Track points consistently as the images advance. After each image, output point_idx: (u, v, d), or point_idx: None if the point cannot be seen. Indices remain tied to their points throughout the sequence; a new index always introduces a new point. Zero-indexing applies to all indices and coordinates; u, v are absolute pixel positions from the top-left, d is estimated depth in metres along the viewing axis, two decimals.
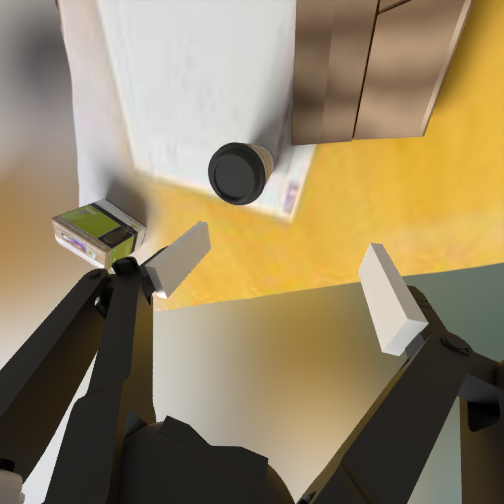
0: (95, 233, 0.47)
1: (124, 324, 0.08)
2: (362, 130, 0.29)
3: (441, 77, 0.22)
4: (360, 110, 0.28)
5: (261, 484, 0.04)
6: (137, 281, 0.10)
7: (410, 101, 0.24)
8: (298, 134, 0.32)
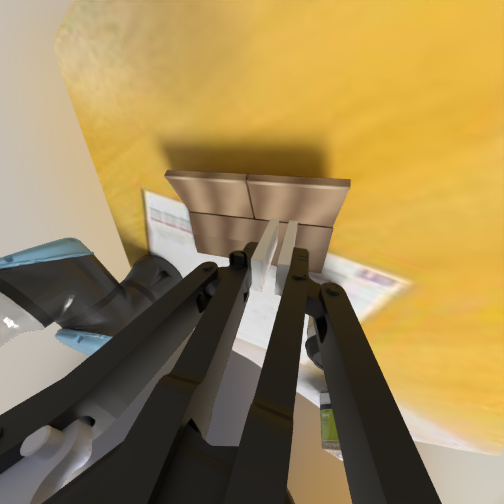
0: None
1: (218, 319, 0.08)
2: (326, 222, 0.30)
3: (300, 185, 0.24)
4: (308, 223, 0.31)
5: None
6: (242, 278, 0.10)
7: (313, 198, 0.26)
8: (313, 267, 0.36)
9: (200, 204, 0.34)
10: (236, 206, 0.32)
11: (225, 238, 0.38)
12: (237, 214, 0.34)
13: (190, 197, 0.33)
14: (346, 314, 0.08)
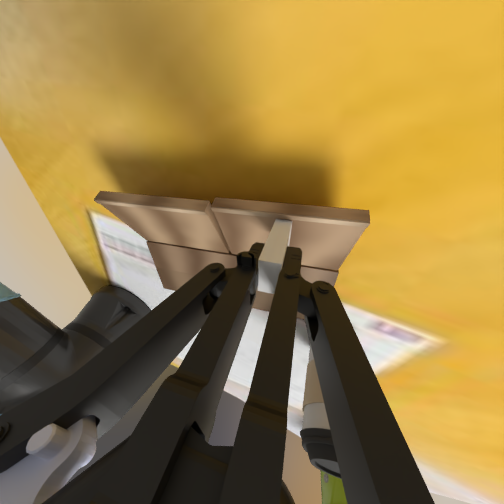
0: None
1: (224, 320, 0.08)
2: (328, 264, 0.21)
3: (291, 216, 0.16)
4: (304, 264, 0.22)
5: None
6: (249, 279, 0.10)
7: (310, 235, 0.17)
8: None
9: (157, 234, 0.25)
10: (203, 239, 0.23)
11: None
12: (207, 248, 0.25)
13: (141, 226, 0.24)
14: (336, 311, 0.08)
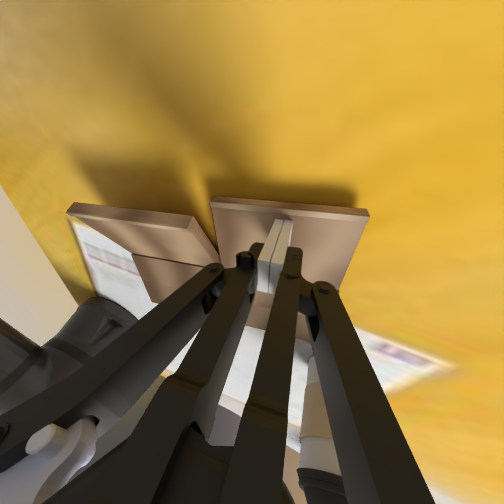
0: None
1: (224, 320, 0.08)
2: (328, 281, 0.19)
3: (290, 211, 0.15)
4: None
5: None
6: (249, 279, 0.10)
7: (309, 236, 0.17)
8: (309, 336, 0.25)
9: (140, 248, 0.23)
10: (190, 255, 0.21)
11: None
12: (196, 263, 0.23)
13: (122, 239, 0.22)
14: (337, 312, 0.08)
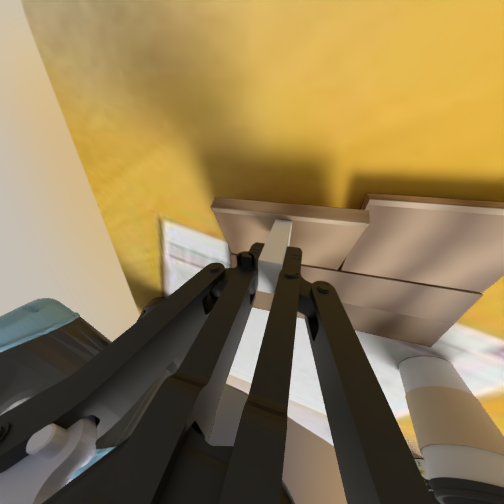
0: None
1: (224, 320, 0.08)
2: (475, 283, 0.18)
3: (474, 208, 0.14)
4: (438, 284, 0.19)
5: None
6: (249, 279, 0.10)
7: (480, 236, 0.16)
8: (420, 339, 0.24)
9: None
10: (318, 254, 0.20)
11: None
12: (312, 263, 0.22)
13: (243, 238, 0.21)
14: (336, 311, 0.08)
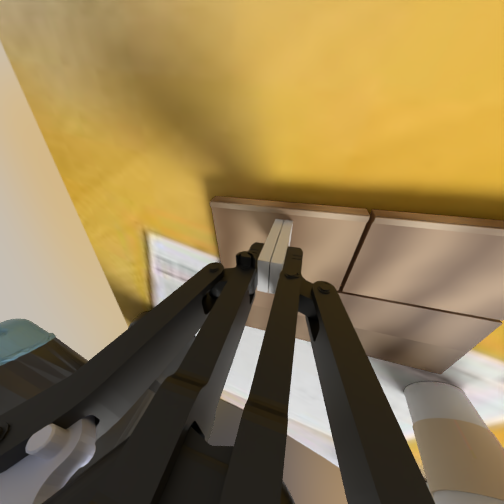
0: None
1: (224, 320, 0.08)
2: (495, 310, 0.16)
3: (499, 231, 0.12)
4: (452, 310, 0.17)
5: None
6: (249, 279, 0.10)
7: None
8: (429, 365, 0.22)
9: None
10: (317, 266, 0.18)
11: None
12: (310, 281, 0.20)
13: (237, 245, 0.20)
14: (337, 312, 0.08)
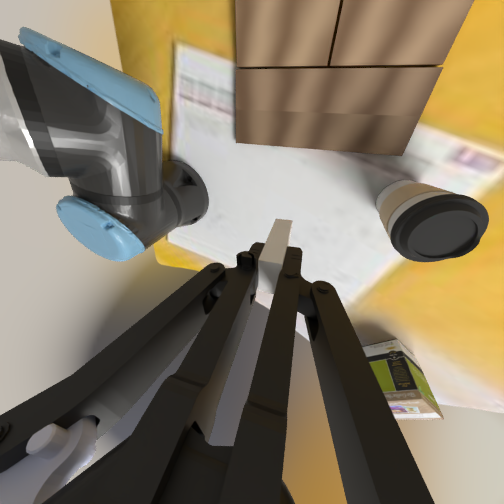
0: (389, 386, 0.45)
1: (224, 320, 0.08)
2: (437, 51, 0.22)
3: None
4: (408, 62, 0.23)
5: None
6: (249, 279, 0.10)
7: None
8: (394, 146, 0.28)
9: (260, 41, 0.26)
10: (312, 34, 0.24)
11: (279, 111, 0.30)
12: (306, 59, 0.26)
13: (251, 23, 0.25)
14: (336, 311, 0.08)
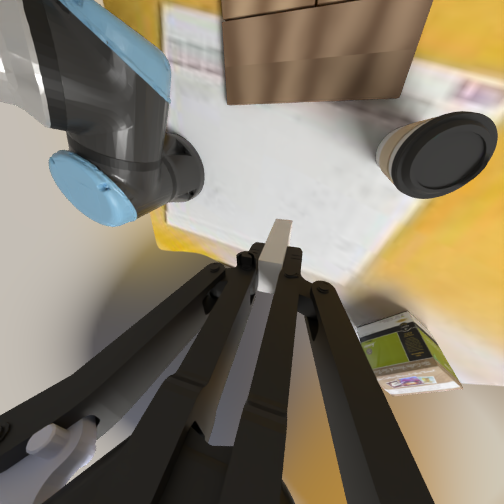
0: (401, 357, 0.43)
1: (224, 320, 0.08)
2: None
3: None
4: None
5: (261, 484, 0.04)
6: (249, 279, 0.10)
7: None
8: (390, 87, 0.27)
9: None
10: None
11: (268, 63, 0.29)
12: (292, 0, 0.25)
13: None
14: (336, 311, 0.08)
